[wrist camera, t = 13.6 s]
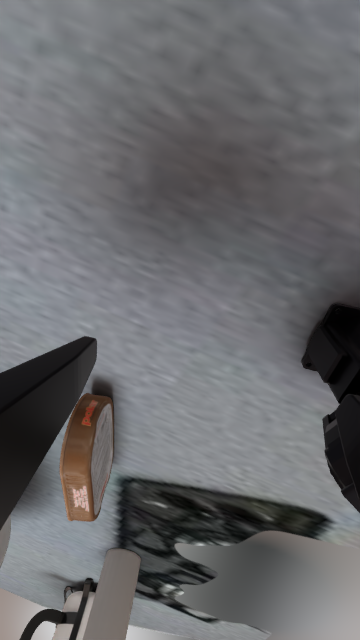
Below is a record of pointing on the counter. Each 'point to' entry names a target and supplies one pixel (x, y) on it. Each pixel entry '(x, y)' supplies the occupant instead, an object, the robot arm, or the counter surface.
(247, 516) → the counter surface
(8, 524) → the bowl
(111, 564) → the bottle
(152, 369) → the counter surface
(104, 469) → the tin
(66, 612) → the coffee press
